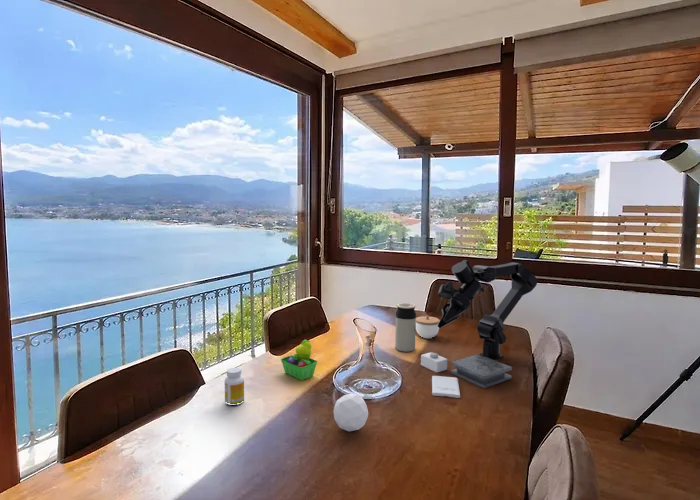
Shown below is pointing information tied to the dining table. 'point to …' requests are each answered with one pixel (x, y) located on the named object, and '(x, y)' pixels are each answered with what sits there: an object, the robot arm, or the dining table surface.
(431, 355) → the block
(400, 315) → the travel mug
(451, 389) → the external hard drive
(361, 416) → the white low-poly ball
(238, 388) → the supplement bottle
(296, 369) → the fruit basket
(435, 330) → the lidded jar
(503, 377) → the stand
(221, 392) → the dining table surface
